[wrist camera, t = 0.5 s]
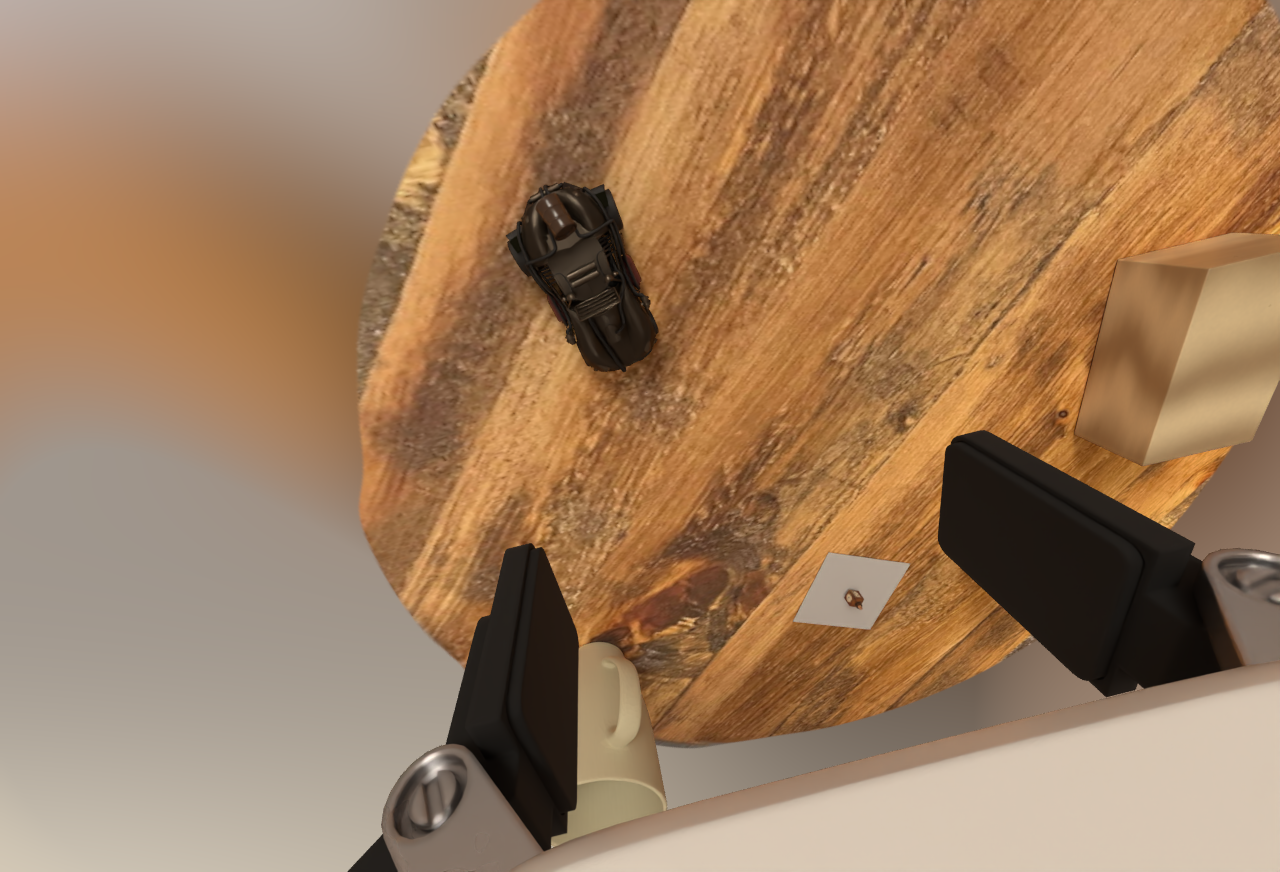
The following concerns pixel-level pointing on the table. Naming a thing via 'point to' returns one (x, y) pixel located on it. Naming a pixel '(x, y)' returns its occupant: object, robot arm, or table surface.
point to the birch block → (1186, 349)
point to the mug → (612, 746)
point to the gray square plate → (850, 591)
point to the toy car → (586, 273)
